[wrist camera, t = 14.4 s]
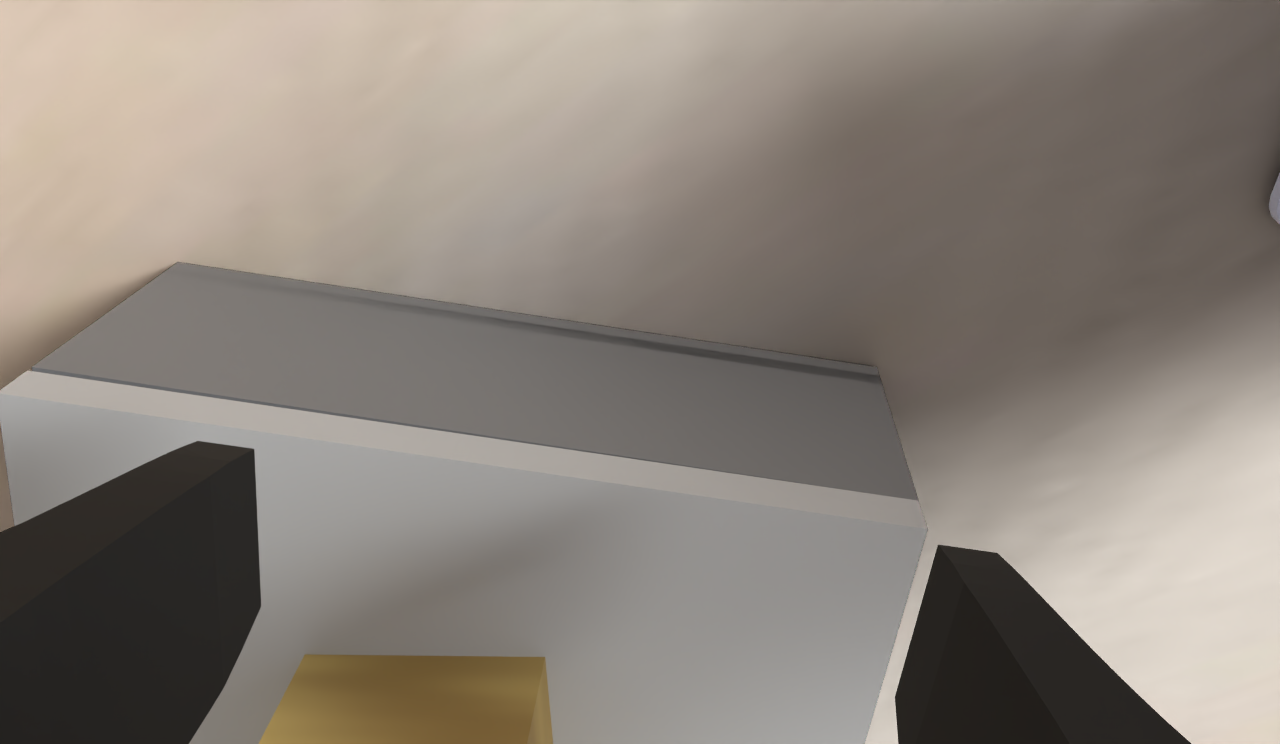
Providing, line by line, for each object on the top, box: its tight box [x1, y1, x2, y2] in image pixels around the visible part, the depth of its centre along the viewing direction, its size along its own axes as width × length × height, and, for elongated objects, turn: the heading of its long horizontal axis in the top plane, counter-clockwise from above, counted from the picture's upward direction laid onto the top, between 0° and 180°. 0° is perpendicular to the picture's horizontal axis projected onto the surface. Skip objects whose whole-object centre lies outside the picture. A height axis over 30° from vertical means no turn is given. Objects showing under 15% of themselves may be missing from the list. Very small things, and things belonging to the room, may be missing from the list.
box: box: [32, 262, 919, 501], centre depth 22 cm, size 14×12×5 cm
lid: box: [0, 370, 928, 744], centre depth 19 cm, size 14×12×1 cm
